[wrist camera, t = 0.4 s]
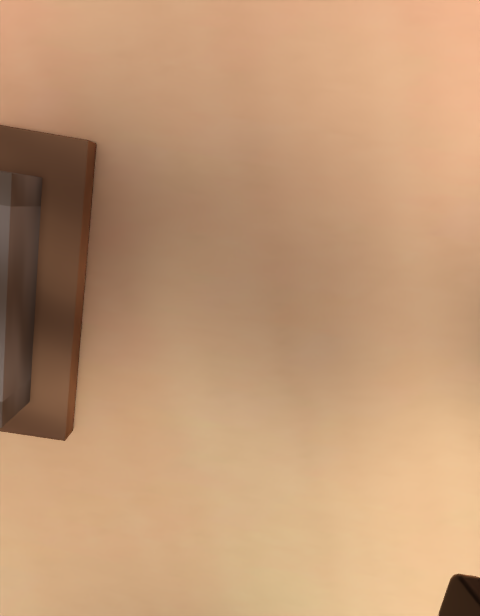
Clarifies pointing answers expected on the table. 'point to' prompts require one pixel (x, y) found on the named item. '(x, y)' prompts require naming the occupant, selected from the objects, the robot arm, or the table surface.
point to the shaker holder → (42, 277)
